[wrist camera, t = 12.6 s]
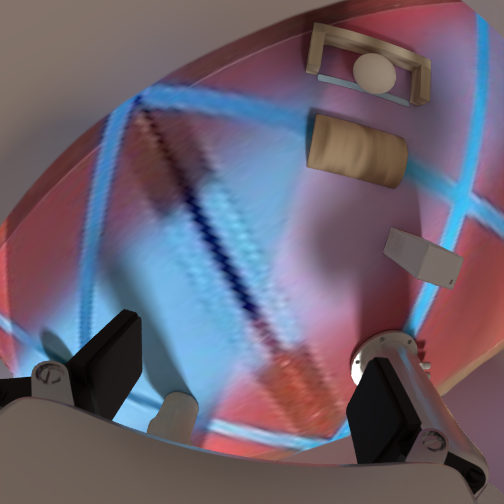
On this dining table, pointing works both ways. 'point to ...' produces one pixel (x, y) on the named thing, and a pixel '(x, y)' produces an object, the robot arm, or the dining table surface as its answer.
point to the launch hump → (357, 151)
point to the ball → (374, 73)
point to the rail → (372, 45)
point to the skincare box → (423, 258)
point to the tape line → (357, 87)
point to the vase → (175, 418)
